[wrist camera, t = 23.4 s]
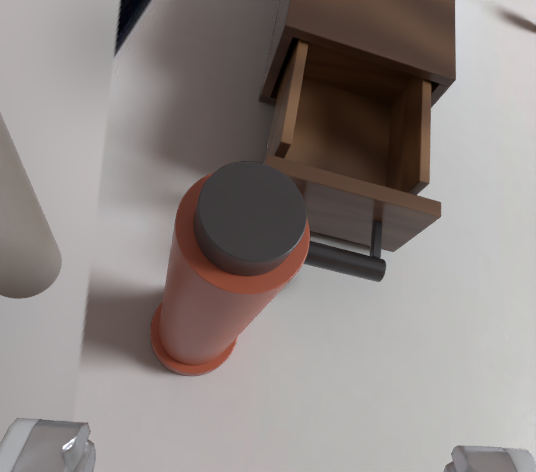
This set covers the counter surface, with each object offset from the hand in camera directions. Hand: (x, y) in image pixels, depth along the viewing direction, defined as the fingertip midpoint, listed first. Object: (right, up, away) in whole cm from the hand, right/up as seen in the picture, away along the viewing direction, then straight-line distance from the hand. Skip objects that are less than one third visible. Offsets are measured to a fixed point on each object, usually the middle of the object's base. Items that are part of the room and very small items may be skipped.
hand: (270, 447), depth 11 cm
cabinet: (+7, +22, +36) cm, 43 cm away
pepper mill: (-5, -2, +23) cm, 23 cm away
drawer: (+5, +9, +29) cm, 31 cm away
